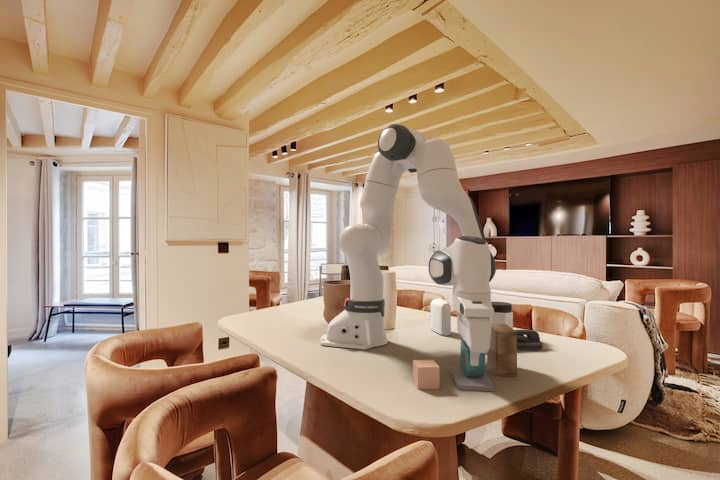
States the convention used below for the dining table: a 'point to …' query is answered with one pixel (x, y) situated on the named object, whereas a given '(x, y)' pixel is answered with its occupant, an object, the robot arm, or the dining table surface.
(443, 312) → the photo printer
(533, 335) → the zipper pull
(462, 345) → the block
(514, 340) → the block
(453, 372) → the felt pad
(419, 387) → the block
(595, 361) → the dining table surface
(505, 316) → the jar
